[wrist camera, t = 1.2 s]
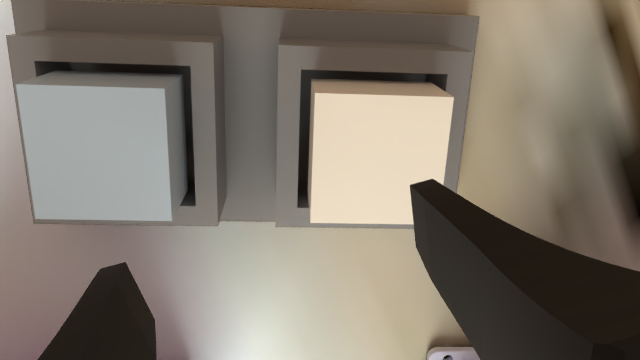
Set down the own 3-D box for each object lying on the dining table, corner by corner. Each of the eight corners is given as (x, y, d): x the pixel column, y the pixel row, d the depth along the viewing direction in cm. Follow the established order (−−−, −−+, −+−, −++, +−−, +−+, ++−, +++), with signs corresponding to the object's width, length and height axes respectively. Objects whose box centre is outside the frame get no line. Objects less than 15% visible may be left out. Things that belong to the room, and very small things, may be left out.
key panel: (467, 14, 23) (508, 20, 19) (443, 211, 26) (473, 254, 22) (28, -3, 22) (-35, -1, 17) (55, 205, 25) (7, 250, 20)
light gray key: (183, 74, 19) (164, 88, 16) (187, 189, 21) (171, 221, 18) (56, 70, 19) (15, 83, 16) (70, 187, 20) (35, 219, 18)
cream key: (430, 81, 20) (454, 97, 17) (418, 193, 21) (438, 224, 19) (311, 78, 20) (315, 92, 17) (307, 191, 21) (310, 222, 18)
